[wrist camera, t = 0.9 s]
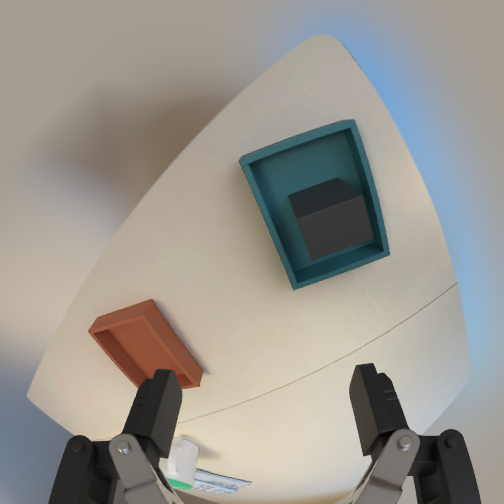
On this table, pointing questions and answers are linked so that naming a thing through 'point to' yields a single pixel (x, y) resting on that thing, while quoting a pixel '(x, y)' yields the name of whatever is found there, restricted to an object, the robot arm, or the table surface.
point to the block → (330, 217)
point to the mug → (180, 464)
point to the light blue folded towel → (216, 483)
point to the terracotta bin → (144, 345)
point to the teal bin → (307, 175)
